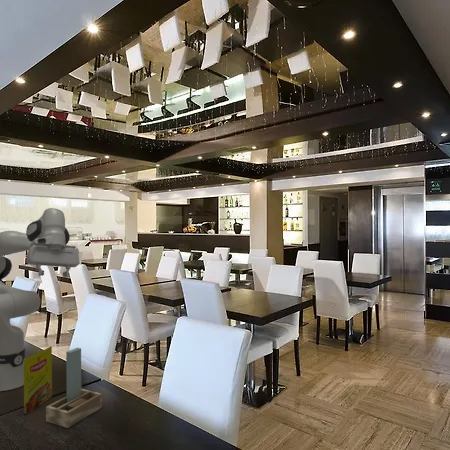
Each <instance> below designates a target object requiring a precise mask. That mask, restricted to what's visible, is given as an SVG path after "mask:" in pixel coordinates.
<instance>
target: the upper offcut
mask: <svg viewBox="0 0 450 450" xmlns="http://www.w3.org/2000/svg"><path fill="white" fill-rule="evenodd" d="M85 401H87V400H85V399H79V400H77V401H75V402H73V403H71V404H69V405H68V411H69V410H71V409H73V408H75V407H76V406H78V405H80V404H82V403H84V402H85Z"/></svg>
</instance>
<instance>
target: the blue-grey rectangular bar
mask: <svg viewBox="0 0 450 450" xmlns="http://www.w3.org/2000/svg"><path fill="white" fill-rule="evenodd" d="M65 355H66V357H65V359H66V362H65V363H66V364H65V365H66V372H65V373H66V396H67V402H69V401H71V400H73V399H75V398H77V397H79V396H81V389H82V348H81V347H76V348H74V349H73V348H72V349H70V350H68V351H66V354H65Z"/></svg>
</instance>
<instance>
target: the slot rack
mask: <svg viewBox="0 0 450 450" xmlns="http://www.w3.org/2000/svg"><path fill="white" fill-rule="evenodd" d="M79 399H85V400H87V401H85V402H84V403H82V404H80V405H78V406H76V407H75V408H73V409H71V410H69V411H68V405H69V404H71V403H73V402H75V401H77V400H79ZM101 408H103V393H100V392H96V391H92V390H89V389H84V388H81V396H79V397H77V398H75V399H73V400H71V401H69V402H67V395H66V396H65V397H63V398H60V399H59V400H57V401H55V402H53V403H51V404H49V405H47V406H45V422H46V423H50V424H53V425H57V426H60V427H62V428H67V429H68V428H70V427H72V426H74V425H75V424H77V423H79V422H81V421H82V420H83V419H86V418H88V416H90V415H92V414H94V413H95V412H97V411H98V410H100V409H101Z"/></svg>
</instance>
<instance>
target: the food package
mask: <svg viewBox="0 0 450 450" xmlns="http://www.w3.org/2000/svg"><path fill="white" fill-rule="evenodd" d="M52 349H53V347H52V346H49V347H47V348H44V349H42V350H41V351H39V352H37V353H35V354H31V356H29V357H25V359H24V385H23V416H26V415H28V414H29V413H31V412H32V411H34V410H35V409H36V408H38V407H39V406H41V405H42V404H43V403H45V402H46V401H48V400H49V399H51V398H52V397H53V386H52V385H53V379H52V378H53V374H52V373H53V371H52V370H53V365H52V364H53V358H52V357H53V355H52V352H53V351H52Z"/></svg>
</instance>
